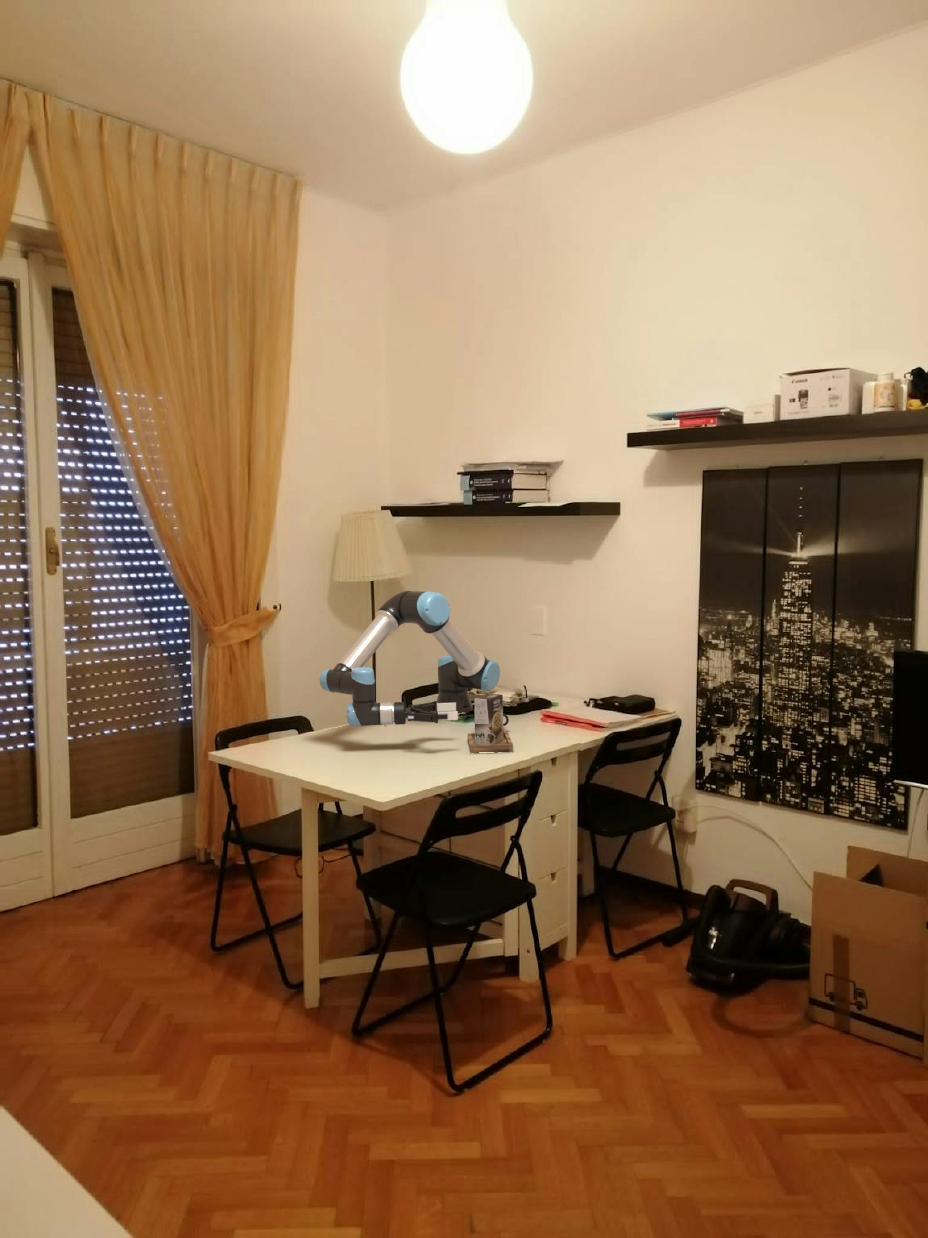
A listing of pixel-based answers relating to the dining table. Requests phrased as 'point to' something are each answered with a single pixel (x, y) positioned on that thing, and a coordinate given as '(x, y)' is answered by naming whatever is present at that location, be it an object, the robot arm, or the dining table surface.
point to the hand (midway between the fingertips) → (456, 711)
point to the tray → (499, 747)
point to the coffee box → (488, 719)
